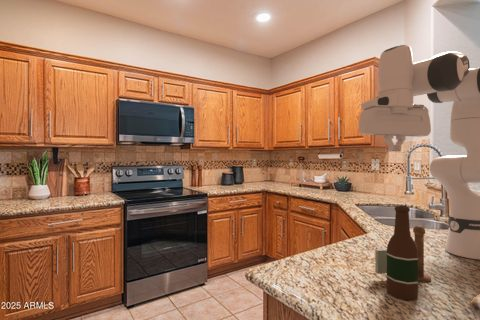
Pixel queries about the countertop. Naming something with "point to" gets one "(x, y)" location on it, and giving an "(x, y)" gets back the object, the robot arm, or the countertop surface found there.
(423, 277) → the post
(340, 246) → the countertop surface
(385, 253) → the flap
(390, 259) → the beer bottle
